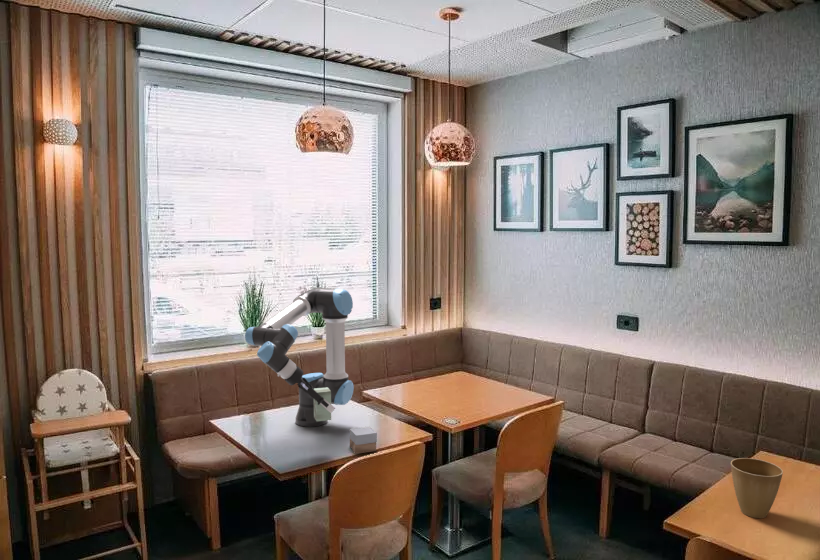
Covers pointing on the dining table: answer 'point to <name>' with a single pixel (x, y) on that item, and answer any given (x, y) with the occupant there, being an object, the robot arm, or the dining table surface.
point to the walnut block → (363, 447)
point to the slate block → (363, 435)
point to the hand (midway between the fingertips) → (331, 408)
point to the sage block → (319, 410)
